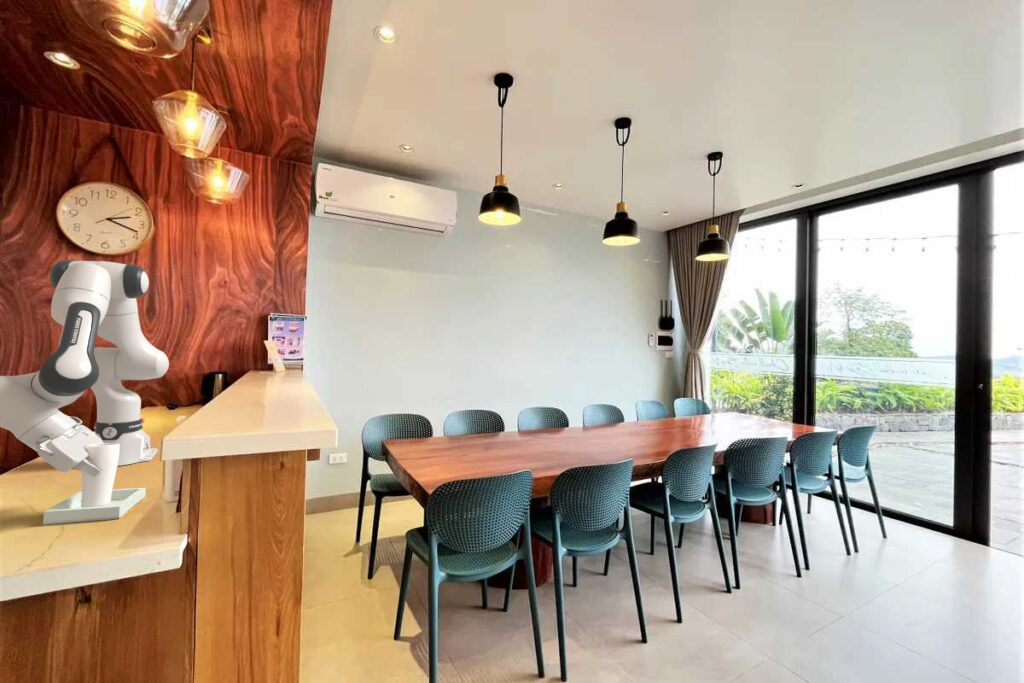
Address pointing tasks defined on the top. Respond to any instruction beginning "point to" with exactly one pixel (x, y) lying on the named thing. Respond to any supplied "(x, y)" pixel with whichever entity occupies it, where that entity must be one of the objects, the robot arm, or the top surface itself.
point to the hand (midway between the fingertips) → (103, 469)
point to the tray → (75, 513)
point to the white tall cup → (100, 474)
